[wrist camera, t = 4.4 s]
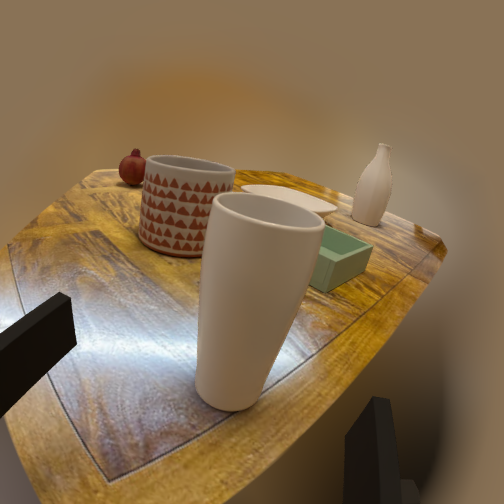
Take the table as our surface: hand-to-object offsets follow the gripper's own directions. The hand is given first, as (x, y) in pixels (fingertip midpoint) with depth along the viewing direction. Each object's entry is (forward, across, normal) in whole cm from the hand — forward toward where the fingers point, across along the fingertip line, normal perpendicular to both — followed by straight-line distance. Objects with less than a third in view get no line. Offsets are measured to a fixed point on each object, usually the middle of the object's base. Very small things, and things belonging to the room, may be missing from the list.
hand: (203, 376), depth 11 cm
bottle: (+89, +22, -10) cm, 92 cm away
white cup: (+9, 0, -10) cm, 14 cm away
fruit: (+61, -42, -10) cm, 75 cm away
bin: (+42, +5, -10) cm, 43 cm away
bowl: (+68, -2, -10) cm, 68 cm away
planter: (+35, -16, -10) cm, 40 cm away
